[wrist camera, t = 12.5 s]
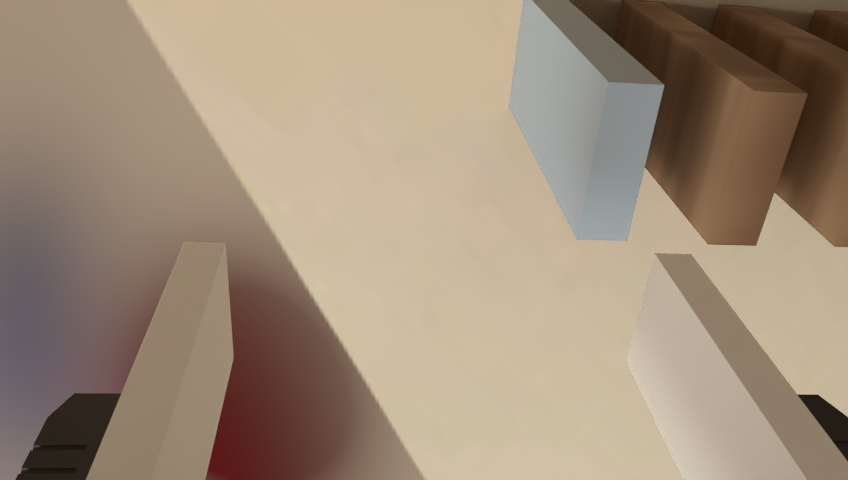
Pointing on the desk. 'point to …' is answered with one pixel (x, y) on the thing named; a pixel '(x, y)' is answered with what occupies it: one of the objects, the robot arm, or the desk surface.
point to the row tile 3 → (831, 27)
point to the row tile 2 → (803, 112)
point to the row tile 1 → (712, 122)
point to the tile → (583, 116)
